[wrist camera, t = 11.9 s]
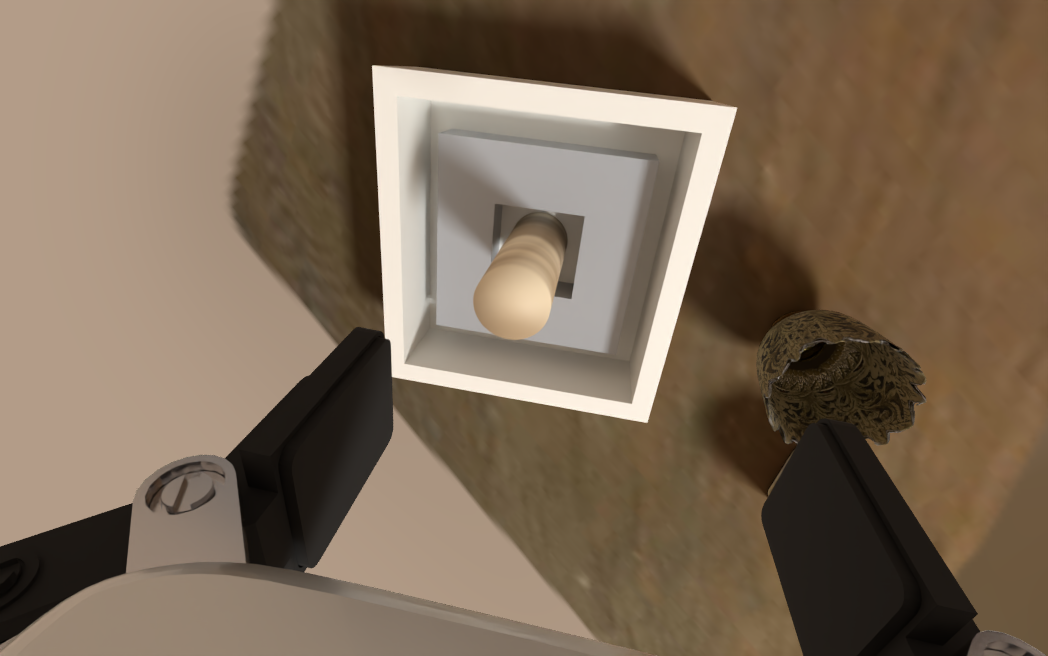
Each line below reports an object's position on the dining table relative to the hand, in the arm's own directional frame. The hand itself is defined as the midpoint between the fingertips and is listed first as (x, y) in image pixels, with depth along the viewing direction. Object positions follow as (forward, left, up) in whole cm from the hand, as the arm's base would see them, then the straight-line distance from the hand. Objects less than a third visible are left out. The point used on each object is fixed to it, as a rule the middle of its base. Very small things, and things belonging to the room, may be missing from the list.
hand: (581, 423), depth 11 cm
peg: (+3, -4, -21) cm, 21 cm away
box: (+3, -3, -22) cm, 22 cm away
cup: (+7, +14, -22) cm, 27 cm away
